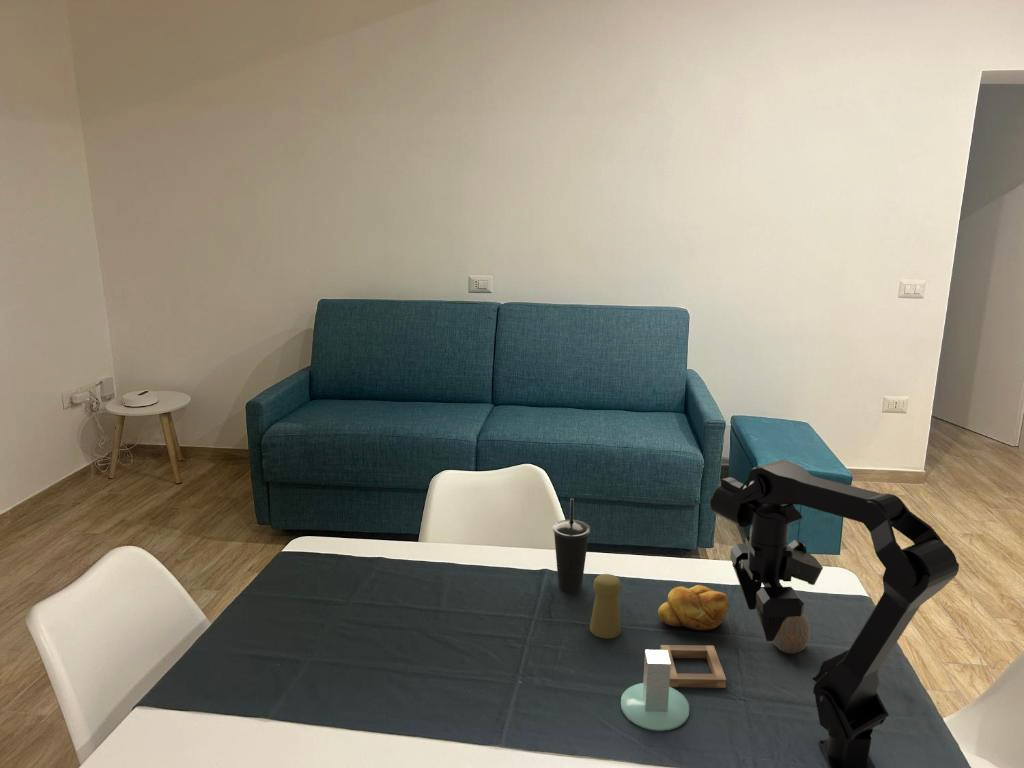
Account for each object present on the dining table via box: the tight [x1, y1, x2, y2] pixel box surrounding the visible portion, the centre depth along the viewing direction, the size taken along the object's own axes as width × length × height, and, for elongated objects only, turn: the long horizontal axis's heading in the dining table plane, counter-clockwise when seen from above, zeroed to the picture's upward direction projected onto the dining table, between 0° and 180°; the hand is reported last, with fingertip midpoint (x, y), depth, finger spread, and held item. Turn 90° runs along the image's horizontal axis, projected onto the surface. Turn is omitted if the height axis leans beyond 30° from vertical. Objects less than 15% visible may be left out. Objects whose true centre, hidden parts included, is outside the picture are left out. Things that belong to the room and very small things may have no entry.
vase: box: [772, 612, 811, 655], centre depth 145 cm, size 7×7×9 cm
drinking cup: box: [552, 498, 591, 594], centre depth 163 cm, size 8×8×20 cm
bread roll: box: [657, 584, 729, 632], centre depth 153 cm, size 13×10×8 cm
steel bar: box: [642, 649, 671, 712], centre depth 129 cm, size 4×4×9 cm
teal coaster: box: [620, 682, 690, 732], centre depth 130 cm, size 11×11×1 cm
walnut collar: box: [659, 644, 727, 689], centre depth 139 cm, size 10×10×2 cm
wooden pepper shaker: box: [589, 573, 622, 639], centre depth 150 cm, size 6×6×11 cm
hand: (760, 624), depth 131 cm, fingers open, 9 cm apart
